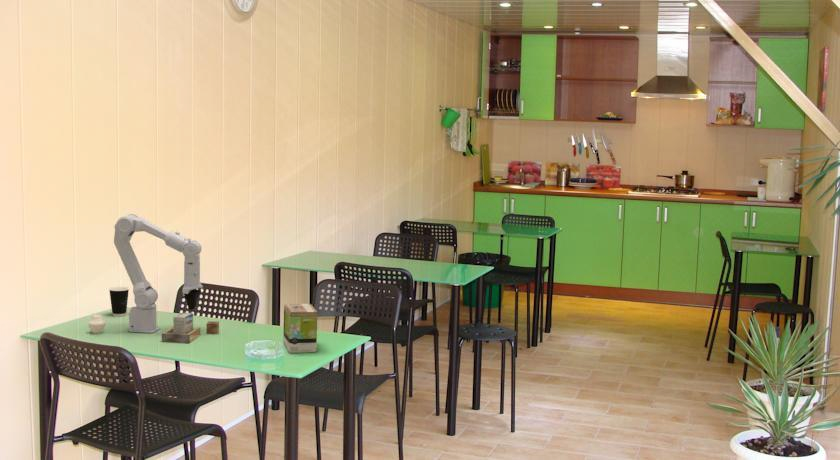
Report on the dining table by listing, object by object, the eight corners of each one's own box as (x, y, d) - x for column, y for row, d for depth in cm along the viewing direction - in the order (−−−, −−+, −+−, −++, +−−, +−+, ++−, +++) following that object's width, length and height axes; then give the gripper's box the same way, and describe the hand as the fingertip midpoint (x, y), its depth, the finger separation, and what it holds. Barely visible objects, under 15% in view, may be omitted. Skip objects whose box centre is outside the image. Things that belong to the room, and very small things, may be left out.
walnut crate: (206, 334, 339) (206, 323, 338) (208, 331, 343) (208, 321, 342) (217, 334, 339) (217, 323, 339) (218, 331, 343) (218, 321, 343)
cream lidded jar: (84, 333, 335) (84, 314, 334) (97, 329, 340) (97, 311, 339) (96, 335, 332) (96, 316, 331) (109, 332, 337) (109, 313, 337)
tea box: (317, 352, 317) (318, 310, 315) (288, 353, 314) (289, 311, 312) (310, 342, 331) (310, 302, 329) (282, 343, 328) (283, 303, 326)
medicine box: (185, 340, 328) (184, 317, 326) (173, 340, 328) (173, 316, 327) (193, 335, 335) (193, 312, 334) (182, 335, 336) (182, 312, 335)
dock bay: (161, 341, 325) (161, 333, 325) (174, 334, 337) (174, 326, 337) (188, 343, 324) (188, 334, 324) (200, 335, 336) (200, 327, 336)
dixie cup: (128, 317, 363) (128, 290, 362) (107, 317, 362) (107, 290, 360) (130, 313, 371) (130, 286, 370) (110, 313, 369) (109, 286, 368)
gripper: (195, 277, 331) (195, 313, 333) (208, 271, 346) (208, 306, 347) (176, 276, 332) (176, 312, 334) (191, 270, 347) (190, 305, 348)
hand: (191, 309), depth 341 cm, fingers closed
